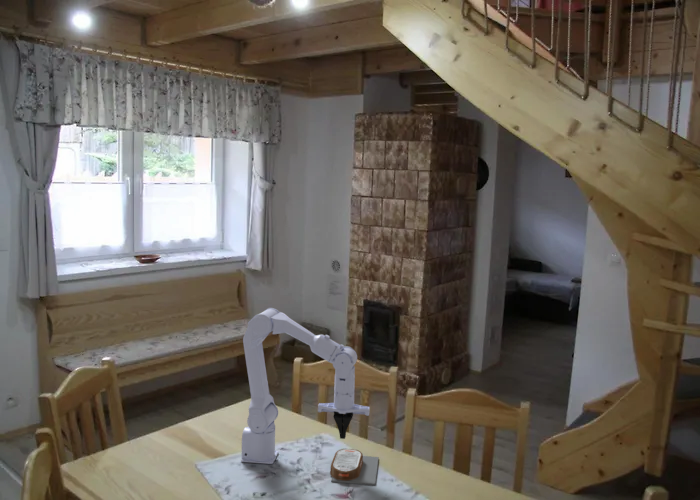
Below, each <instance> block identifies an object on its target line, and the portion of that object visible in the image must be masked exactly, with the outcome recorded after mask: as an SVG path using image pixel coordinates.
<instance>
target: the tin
mask: <svg viewBox="0 0 700 500" xmlns="http://www.w3.org/2000/svg"><path fill="white" fill-rule="evenodd" d="M363 456H364V455H363V452H362V451H360V450H358V449H353V448H341V449H338V450H336V452H335V453H334V456H333V459H332V461H331V464H330V471H329V474H330V476H331V478H332V477H333V478H335V479H338V480H345V481H348V480H353V479H356V478H358V477H359V475H360V472H361V468H362V465H363Z"/></svg>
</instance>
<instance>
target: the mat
mask: <svg viewBox="0 0 700 500" xmlns="http://www.w3.org/2000/svg"><path fill="white" fill-rule="evenodd" d="M379 458H380V457H379V456H368V455H363V465H362V468H361V472H360V475H359V477H358V478H356V479H353V480H348V481H345V480H338V479H335V478H333V477H332V476H331V479H330V481H331V483H343V484H353V485H365V486H366V485H367V486H376V481H377V474H378V465H379Z"/></svg>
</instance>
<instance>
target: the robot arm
mask: <svg viewBox="0 0 700 500" xmlns="http://www.w3.org/2000/svg"><path fill="white" fill-rule="evenodd" d="M271 332H272V335H277V334H278V335H279V334H286V335H289V336H291V337H292V338H295V339H296V340H298V341H300V342H302V343H303V344H306V345H308V346H309V348H310V351H311V352H312V353H313V354H314V355H316V356H318V357H320V358H321V359H323V360H324V361H326V362H328V363H330V364H332V367H333V369H334V370H335V371H334V373H335V374H334V382H333V383H334V388H333V389H334V390H333V402H325V403H324V402H319V403H318V404H317V413H322V412H323V413H325V412H326V413H333V420H334V422H335V424H336V426H337V429H338V433H339V439H342V440H345V439H346V437H347V436H346V435H347V431H348V428H349V425H350V423H351V422H352V419H353V417H354V414H355V415H364V416H370V406H366V405H360V404H358V403H357V404H356V403H355V387H356V386H355V385H356V384H355V382H356V381H355V380H356V374H355V371H356V366H355V365H356V363H357V361H358V355H357V354H358V353H357V352H356V350H354V348H352V347H351V346H348V345H347V346H345V345H344V344H342V343H341V344H340V343H338V342H337V341H335V340H333V339H331V337H330V335H328V334H325V335H324V334H317V335H316V334H314V333H313V332H311V330H308V329H307V328H306V327H304V326H302V325H301V324H299V323H298V322H296V321H295V320H293V319H292V318H290V317H289V316H288V315H287V314H285V313H284V312H282V311H279V310H278V309H276V308H273V307H268V308H266V309H265V310H263V311H262V312H260V313H257V314H255V315H254V316H253V317H252V318H251V319H250V320H249V321H248V322H247V327H246V329H245V332H244V335H243V339H242V342H243V350H244V357H245V364H246V371H247V377H248V383H249V392H250V402H249V406H248V417H247V421H246V422H247V423H246V424H247V426H245V427H244V428H243V430H242V435H241V459H240V462H242V463H251V464H253V463H254V464H266V465H273V464H274V462H275V460H276V459H277V456H278V454H279V450H276V425H275V420H276V419H277V418H278V416H279V410H278V407H277V405H276V404H275V400H274V397H273V396H272V395H271V394H270V387H269V382H268V374H267V369H266V363H265V353H264V347H263V342H264V341H265V339H266V338H267V337H268V336H269V335H270V334H271Z"/></svg>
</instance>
